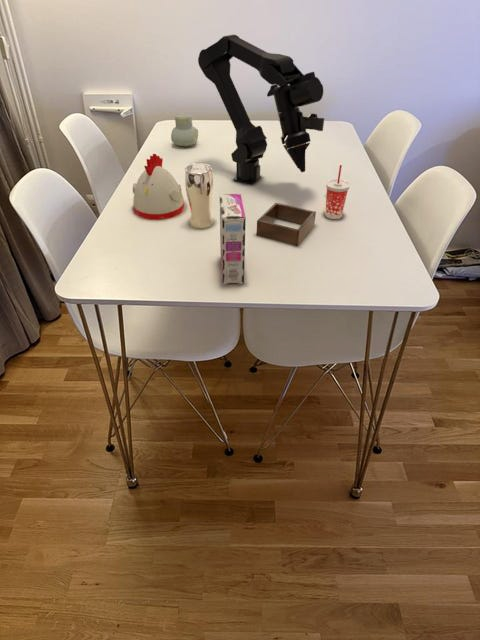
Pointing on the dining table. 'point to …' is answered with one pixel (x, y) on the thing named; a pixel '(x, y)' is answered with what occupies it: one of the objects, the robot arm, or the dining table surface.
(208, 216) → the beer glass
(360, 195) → the dining table surface
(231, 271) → the candy bar box
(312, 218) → the crate
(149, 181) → the kitchen timer
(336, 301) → the dining table surface
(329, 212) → the beverage cup
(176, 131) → the air freshener
